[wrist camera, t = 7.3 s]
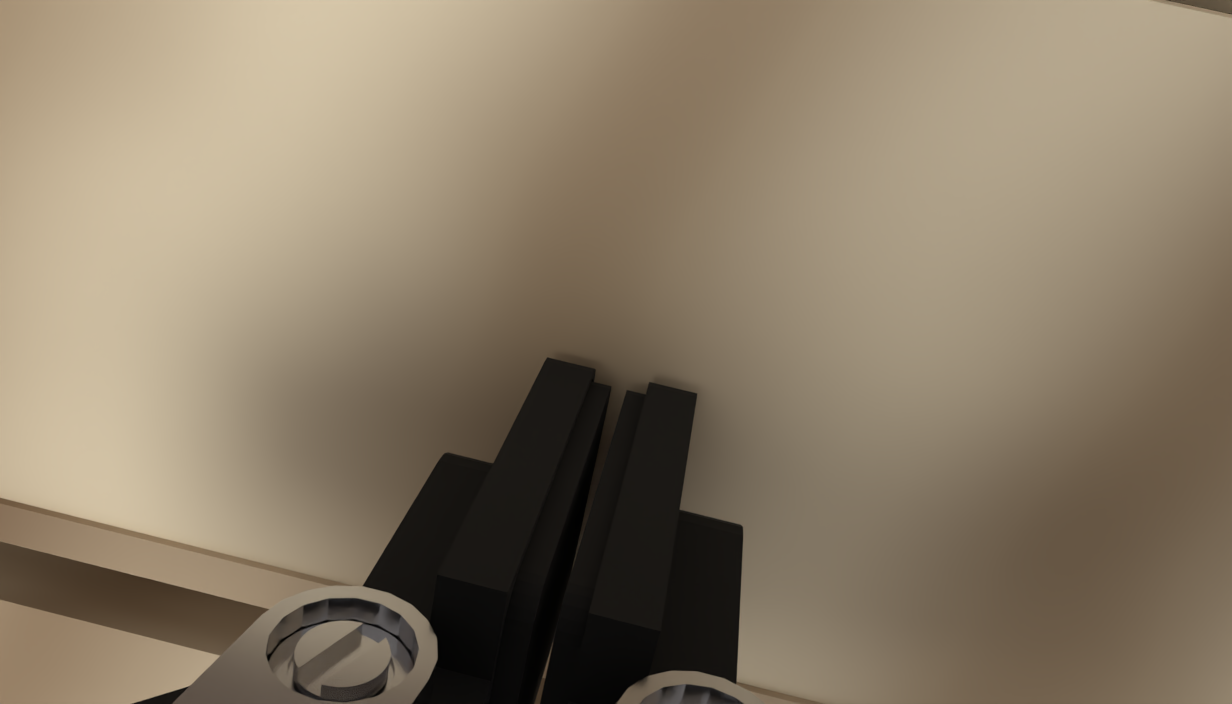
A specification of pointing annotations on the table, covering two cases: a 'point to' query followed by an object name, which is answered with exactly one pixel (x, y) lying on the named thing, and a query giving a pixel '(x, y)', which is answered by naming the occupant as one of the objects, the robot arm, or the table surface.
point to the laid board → (105, 632)
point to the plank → (651, 305)
